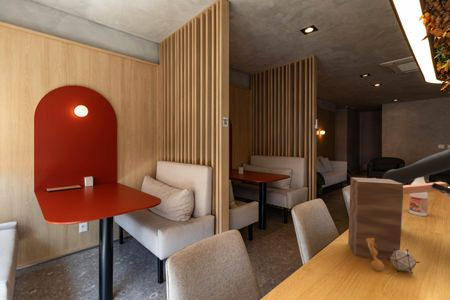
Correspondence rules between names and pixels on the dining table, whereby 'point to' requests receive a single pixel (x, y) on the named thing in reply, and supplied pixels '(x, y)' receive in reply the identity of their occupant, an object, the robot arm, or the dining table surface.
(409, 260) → the game die
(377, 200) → the walnut pedestal
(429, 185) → the terracotta bar
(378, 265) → the figurine
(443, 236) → the dining table surface
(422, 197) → the fruit juice
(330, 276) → the dining table surface
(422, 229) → the dining table surface
